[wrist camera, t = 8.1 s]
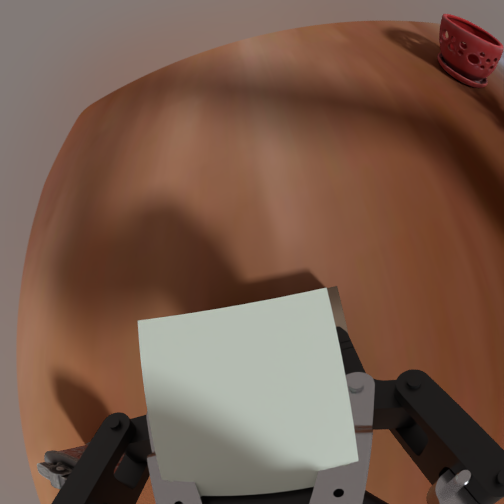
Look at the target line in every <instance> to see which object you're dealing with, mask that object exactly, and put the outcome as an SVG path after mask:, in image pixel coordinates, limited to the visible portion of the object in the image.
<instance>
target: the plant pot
mask: <svg viewBox="0 0 504 504" xmlns="http://www.w3.org/2000/svg"><path fill="white" fill-rule="evenodd" d="M446 31H447V32H448V35H449V37H448V38H446V36H445V33H446ZM439 40H440V48H441V53H439V54H438V56H437V59H438V62H439V63H440V65H441V66H442V68H443V69H444V70H445V71H446V72H447V73H449V74H450V75H451V76H453V77H454V78H455V79H457V80H459V81H460V82H462V83H464V84H466V85H469V86H471V87H473V88H474V87H476V88H482V87H485V86H486V85H487V83H488V81H487V78H486V77H487V76H489V75H490V74H491V73H492V72H493V71H494V69H495V68H496V66H497V64H498V61H499V60H500V58H501V55H502V52H503V45H502V44H501V43H500V42H499V41H498V40H497V39H496V38H495V37H493V36H492V35H491V34H489V33H488V32H487V31H485V30H483V29H482V28H480V27H478V26H477V25H475V24H473V23H471V22H469V21H467V20H465V19H462V18H460V17H457V16H454V15H450V14H443V16H442V20H441V25H440V36H439ZM462 42H464V43H466V44H463V43H462ZM483 53H484V54H483Z"/></svg>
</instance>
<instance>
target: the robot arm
mask: <svg viewBox="0 0 504 504" xmlns="http://www.w3.org/2000/svg"><path fill="white" fill-rule="evenodd" d="M336 331H337V336H338V340H339V345H340V350H341V355H342V360H343V365H344V371H345V376H346V381H347V387H348V393H349V399H350V405H351V411H352V417H353V424H354V430H355V437H356V445H357V452H358V461H357V462H353V463H350V464H349V465H347V466H338V467H334V468H329V469H325V470H320V471H318V475H317V478H316V482H315V486H314V487H309V488H304V489H298V490H291V491H284V492H276V493H266V494H255V495H237V496H202V494H201V492H200V491H199V489H198V487H197V485H196V483H195V482H187V481H173V482H169V481H168V480H162V478H161V474H160V470H159V466H158V462H157V457H156V453H155V448H154V443H153V438H152V433H151V428H150V422H149V416H148V411H147V415H144V416H140V417H136V418H133V419H129V417H128V416H127V415H126V414H124V413H113V414H111V415H109V416H108V417H107V418H106V419H105V420H104V422H103V423H102V425H101V426H100V428H99V429H98V431H97V432H96V434H95V435H94V437H93V438H92V440H91V442H90V443H89V445H88V446H87V448H86V449H85V451H84V452H83V454H82V456H81V457H80V459H79V460H78V462H77V463H76V465H75V467H74V468H73V470H72V471H71V473H70V475H69V476H68V478H67V480H66V481H65V483H64V484H63V486H62V488H61V489H60V491H59V493H58V494H57V496H56V497H55V499H54V501H53V502H52V504H136V502H137V500H138V498H139V496H140V494H141V492H142V490H143V488H144V486H145V484H146V482H147V479H148V477H149V475H150V478H151V483H152V488H153V492H154V497H155V501H156V504H388V503H386V502H384V501H383V500H381V499H379V498H378V497H376V496H374V495H373V494H371V493H369V492H368V491H366V490H365V487H366V481H367V475H368V469H369V461H370V454H371V445H372V435H373V429H389V430H390V431H391V433H392V434H393V435H394V436H395V438H396V439H397V440H398V442H399V443H400V444H401V445H402V447H403V448H404V449H405V451H406V452H407V453H408V455H409V456H410V457H411V458H412V460H413V461H414V462H415V464H416V465H417V466H418V467H419V469H420V470H421V471H422V473H423V474H424V475H425V476H426V478H427V479H428V480H429V482H430V483H431V484H432V486H431V487H430V489H429V491H428V493H427V497H426V499H427V504H494V503H496V502H497V501H499V500H500V499H501V498H503V497H504V450H503V449H502V448H501V447H500V446H499V445H498V444H497V443H496V442H495V441H494V440H493V439H492V438H491V437H490V436H489V435H488V434H487V433H486V432H485V431H484V430H483V429H482V428H481V427H480V426H479V425H478V424H477V423H476V422H475V421H474V420H473V419H472V418H471V417H470V416H469V415H468V414H467V413H466V412H465V411H464V410H463V409H462V408H461V407H460V406H459V405H458V404H457V403H456V402H455V401H454V400H453V399H452V398H451V397H450V396H449V395H448V394H447V393H446V392H445V391H444V390H443V389H442V388H441V387H440V386H439V385H438V384H437V383H435V382H434V381H433V380H432V379H431V378H430V377H429V376H428V375H427V374H426V373H425V372H423V371H420V370H408V371H405V372H403V373H402V374H401V375H400V376H399V377H398V378H397V380H388V381H381V380H376V379H373V378H372V377H371V376H370V375H368V374H366V373H365V371H364V369H363V366H362V364H361V362H360V360H359V357H358V355H357V353H356V351H355V349H354V347H353V344H352V342H351V340H350V338H349V335H348V333H347V332H346V331H345V330H344V329H342V328H341V327H340V326H338V327H336ZM123 454H125V455H124V457H123V459H122V461H121V462H120V464H119V466H118V468H117V470H116V471H115V473H114V470H115V468H116V466H117V464H118V462H119V461H120V459H121V457H122V455H123Z"/></svg>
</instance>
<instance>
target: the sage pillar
mask: <svg viewBox="0 0 504 504" xmlns="http://www.w3.org/2000/svg"><path fill="white" fill-rule="evenodd" d="M138 332H139V345H140V356H141V366H142V374H143V382H144V390H145V397H146V404H147V410H148V416H149V422H150V428H151V433H152V438H153V443H154V448H155V453H156V457H157V462H158V466H159V470H160V474H161V478H162V480H168V481H169V482H173V481H187V482H195V483H196V485H197V487H198V489H199V491H200V492H201V494H202V496H237V495H255V494H266V493H276V492H284V491H291V490H298V489H304V488H309V487H314V486H315V482H316V478H317V475H318V471H320V470H325V469H329V468H334V467H338V466H347V465H349V464H350V463H353V462H357V461H358V452H357V445H356V437H355V430H354V424H353V417H352V411H351V405H350V399H349V393H348V387H347V381H346V376H345V371H344V365H343V360H342V355H341V350H340V345H339V340H338V336H337V331H336V326H335V322H334V317H333V313H332V308H331V304H330V300H329V296H328V291H327V287H326V288H322V289H317V290H313V291H308V292H303V293H298V294H294V295H289V296H284V297H279V298H274V299H268V300H263V301H258V302H253V303H247V304H242V305H236V306H231V307H225V308H219V309H213V310H207V311H201V312H195V313H188V314H182V315H175V316H168V317H161V318H154V319H147V320H140V321H138Z"/></svg>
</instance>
